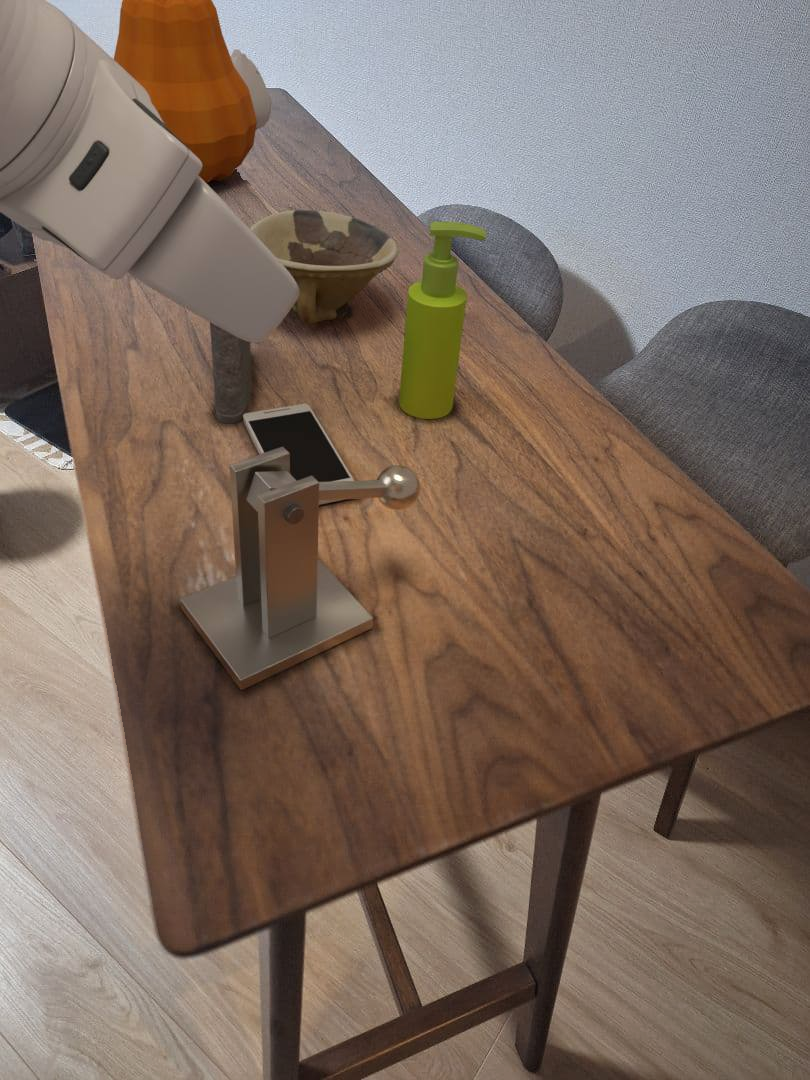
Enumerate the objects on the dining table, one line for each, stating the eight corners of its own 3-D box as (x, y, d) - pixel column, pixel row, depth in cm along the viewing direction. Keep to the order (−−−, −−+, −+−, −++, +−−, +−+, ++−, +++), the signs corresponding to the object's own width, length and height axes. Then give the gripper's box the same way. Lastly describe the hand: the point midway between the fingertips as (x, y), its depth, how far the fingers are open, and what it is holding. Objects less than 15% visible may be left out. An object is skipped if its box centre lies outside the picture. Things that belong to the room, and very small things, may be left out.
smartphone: (287, 511, 84) (287, 503, 83) (241, 420, 94) (241, 412, 94) (360, 497, 86) (360, 489, 86) (307, 409, 97) (308, 402, 96)
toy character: (281, 132, 161) (280, 58, 154) (225, 137, 157) (221, 61, 149) (259, 114, 168) (257, 42, 160) (204, 118, 164) (199, 44, 156)
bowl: (375, 355, 106) (380, 278, 100) (228, 329, 108) (223, 252, 102) (406, 290, 119) (412, 218, 113) (273, 268, 121) (272, 196, 115)
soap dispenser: (462, 421, 97) (488, 241, 84) (398, 417, 97) (413, 235, 84) (461, 392, 102) (485, 216, 89) (399, 387, 101) (414, 210, 88)
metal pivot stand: (307, 556, 80) (309, 414, 70) (372, 628, 74) (384, 484, 64) (181, 609, 74) (163, 462, 64) (241, 690, 68) (231, 543, 58)
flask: (255, 352, 105) (249, 196, 93) (251, 424, 94) (245, 258, 82) (222, 352, 104) (213, 195, 92) (215, 423, 94) (203, 256, 82)
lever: (393, 493, 77) (408, 456, 75) (419, 517, 74) (435, 480, 73) (238, 501, 66) (252, 458, 65) (263, 529, 64) (278, 486, 63)
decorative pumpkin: (90, 152, 147) (58, -69, 127) (233, 142, 156) (224, -66, 136) (121, 208, 132) (90, -33, 112) (278, 194, 140) (275, -33, 120)
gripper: (-46, 126, 49) (145, 263, 60) (106, 280, 37) (307, 415, 49) (22, 28, 48) (202, 185, 60) (198, 154, 37) (381, 320, 48)
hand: (251, 290), depth 54 cm, fingers closed
